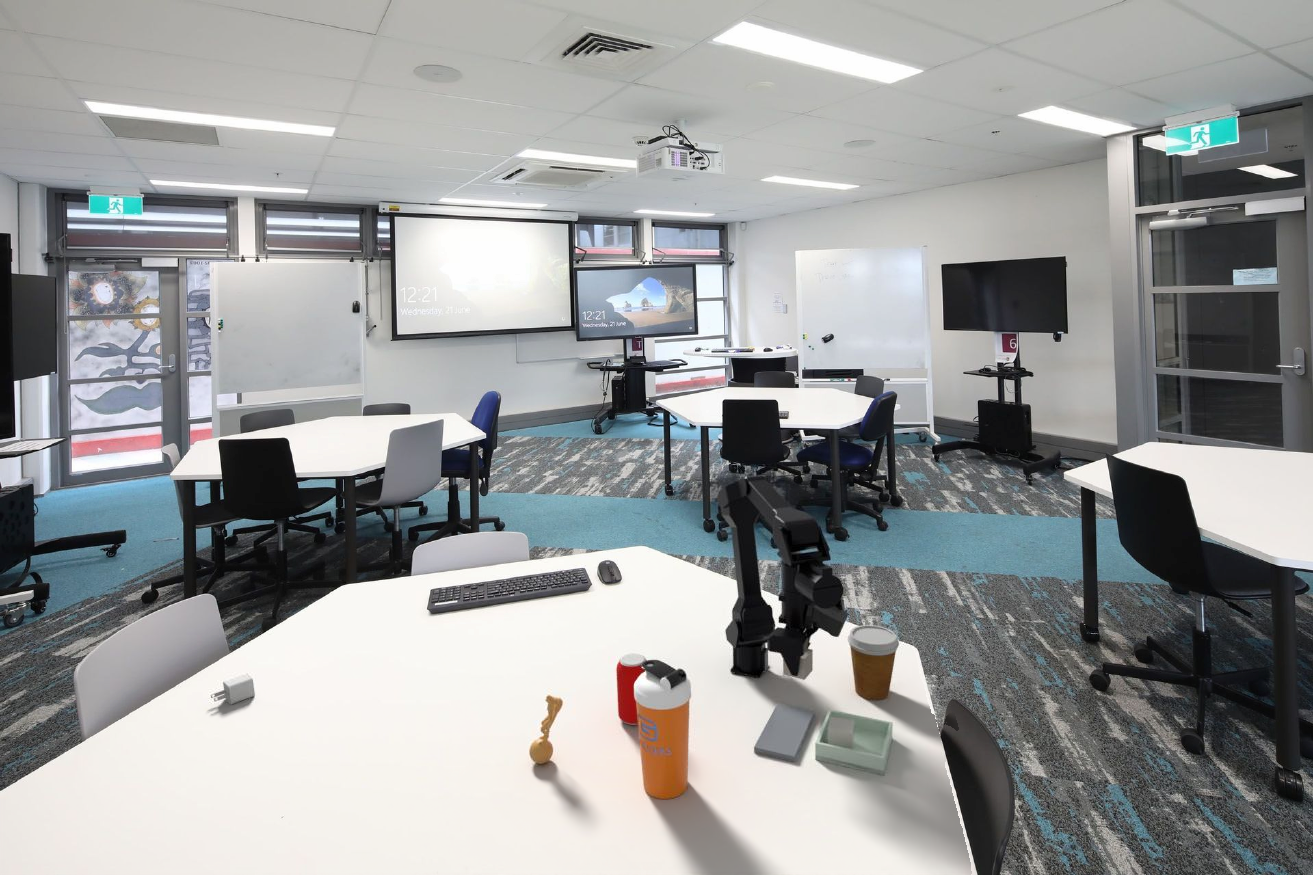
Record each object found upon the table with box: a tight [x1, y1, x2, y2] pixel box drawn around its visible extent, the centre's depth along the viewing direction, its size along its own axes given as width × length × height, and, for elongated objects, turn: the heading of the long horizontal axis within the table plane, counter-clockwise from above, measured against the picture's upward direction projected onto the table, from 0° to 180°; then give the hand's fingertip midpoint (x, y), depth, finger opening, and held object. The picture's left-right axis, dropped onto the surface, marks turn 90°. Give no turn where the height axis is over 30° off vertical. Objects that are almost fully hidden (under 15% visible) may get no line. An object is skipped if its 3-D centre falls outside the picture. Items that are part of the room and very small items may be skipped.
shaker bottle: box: [634, 659, 692, 800], centre depth 111 cm, size 9×9×20 cm
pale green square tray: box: [814, 709, 894, 776], centre depth 120 cm, size 11×11×3 cm
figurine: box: [528, 694, 564, 765], centre depth 118 cm, size 8×6×12 cm
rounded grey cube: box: [828, 717, 854, 750], centre depth 119 cm, size 4×4×4 cm
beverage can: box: [615, 653, 647, 726], centre depth 130 cm, size 6×6×12 cm
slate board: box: [753, 702, 815, 763], centre depth 125 cm, size 7×15×1 cm, turn 155°
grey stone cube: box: [782, 648, 814, 681], centre depth 127 cm, size 4×4×4 cm
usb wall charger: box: [210, 673, 256, 705], centre depth 142 cm, size 4×7×4 cm, turn 137°
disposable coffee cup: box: [847, 624, 900, 701], centre depth 137 cm, size 10×10×12 cm
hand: (797, 669), depth 127 cm, fingers closed on grey stone cube, 4 cm apart
